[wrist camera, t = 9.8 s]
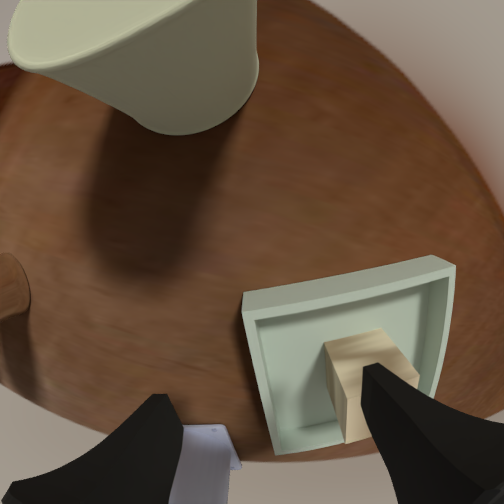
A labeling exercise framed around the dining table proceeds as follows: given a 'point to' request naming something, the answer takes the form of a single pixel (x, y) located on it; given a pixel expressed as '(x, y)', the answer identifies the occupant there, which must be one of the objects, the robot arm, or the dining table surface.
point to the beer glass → (12, 288)
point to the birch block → (360, 375)
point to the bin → (339, 326)
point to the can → (145, 55)
